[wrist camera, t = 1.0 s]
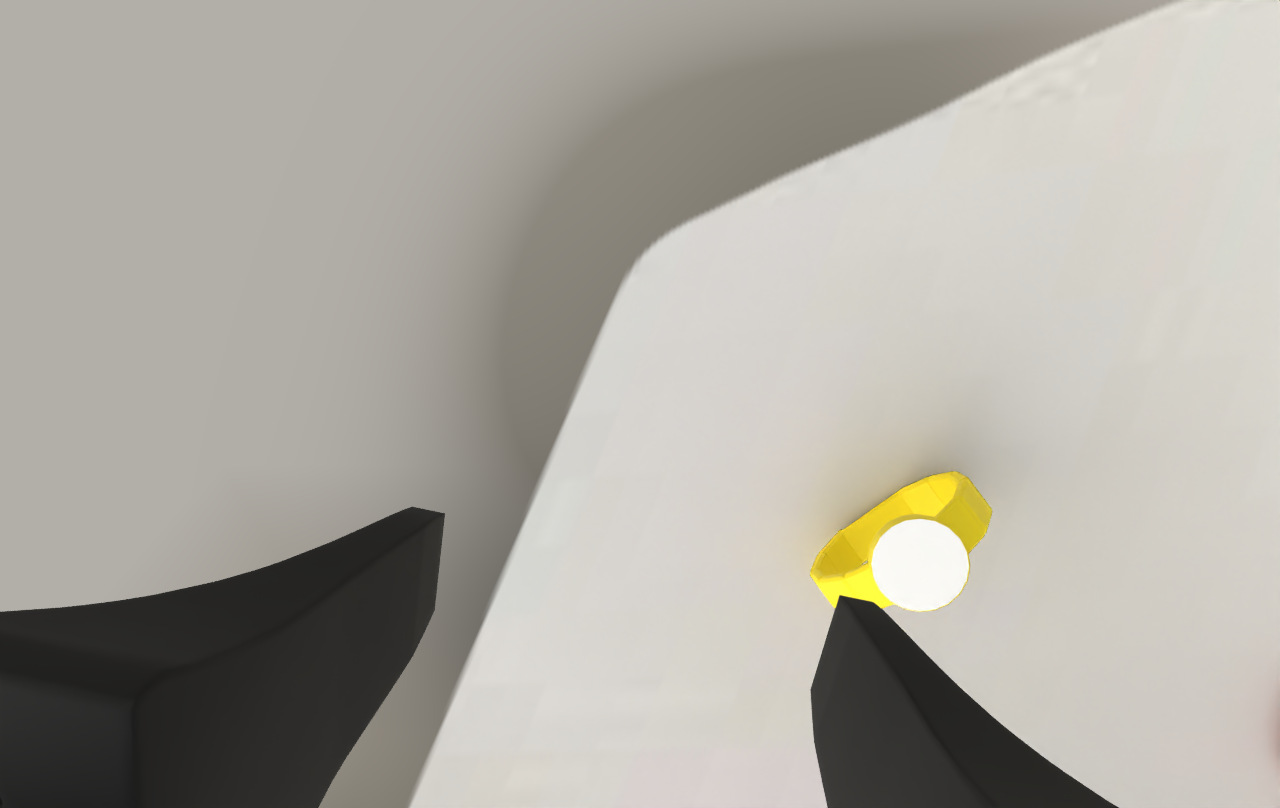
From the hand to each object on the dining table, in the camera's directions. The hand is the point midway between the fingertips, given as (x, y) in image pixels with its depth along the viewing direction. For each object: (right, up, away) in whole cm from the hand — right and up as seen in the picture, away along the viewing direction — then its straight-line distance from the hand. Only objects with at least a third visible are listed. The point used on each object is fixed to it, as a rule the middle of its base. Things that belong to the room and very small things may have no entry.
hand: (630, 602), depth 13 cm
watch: (+9, -1, +14) cm, 17 cm away
